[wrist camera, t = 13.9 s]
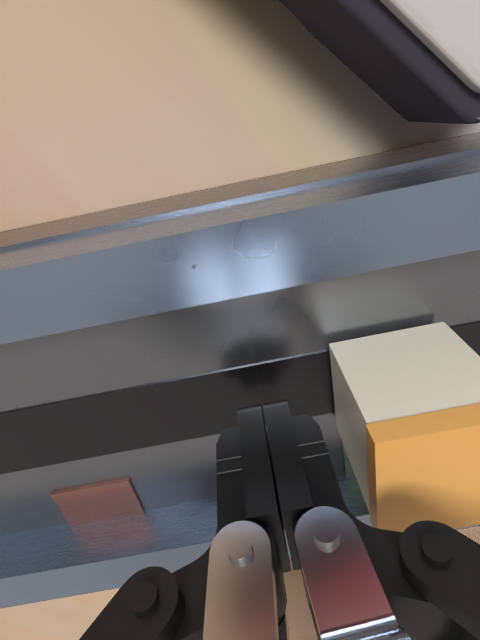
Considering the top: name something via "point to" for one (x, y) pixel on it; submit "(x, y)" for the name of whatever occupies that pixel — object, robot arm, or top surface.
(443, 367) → the breaker toggle
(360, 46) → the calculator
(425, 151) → the panel
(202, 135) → the top surface
